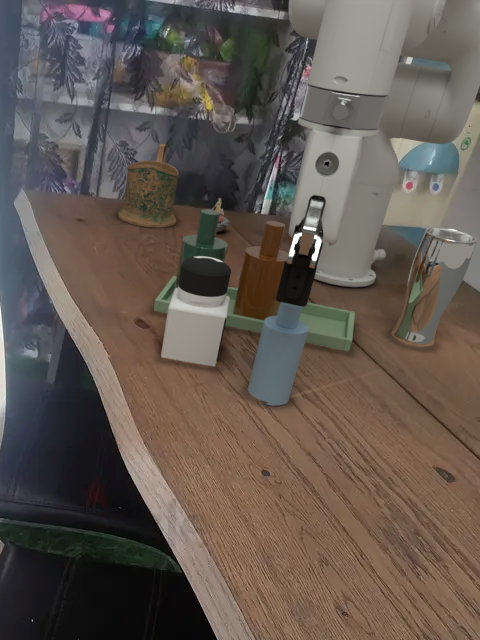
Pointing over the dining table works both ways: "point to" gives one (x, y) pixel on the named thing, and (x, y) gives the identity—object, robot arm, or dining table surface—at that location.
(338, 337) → the tray
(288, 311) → the blue bottle
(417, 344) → the beer glass
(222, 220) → the figurine
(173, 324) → the medicine bottle
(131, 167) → the bronze bell
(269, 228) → the amber bottle
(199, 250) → the green bottle
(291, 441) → the dining table surface
